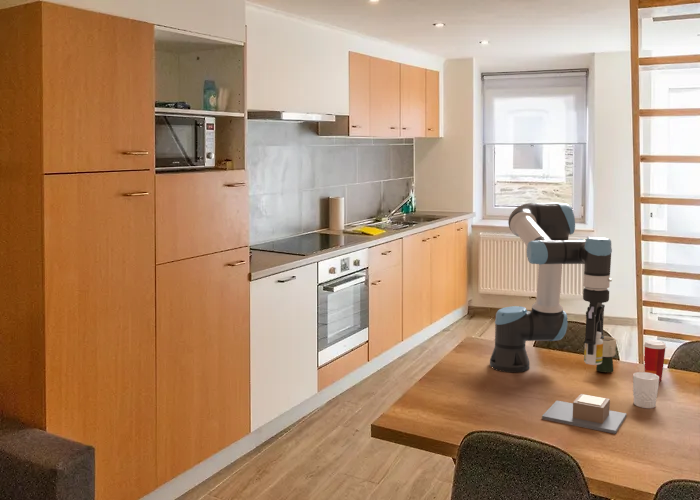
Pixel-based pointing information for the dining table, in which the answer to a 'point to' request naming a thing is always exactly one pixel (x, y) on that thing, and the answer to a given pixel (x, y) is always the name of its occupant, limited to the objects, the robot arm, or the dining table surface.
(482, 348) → the dining table surface
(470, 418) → the dining table surface
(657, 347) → the paper cup
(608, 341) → the character mug
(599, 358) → the supplement bottle
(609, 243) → the robot arm
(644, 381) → the white cup
